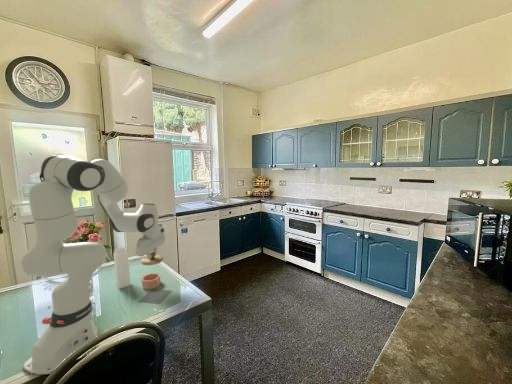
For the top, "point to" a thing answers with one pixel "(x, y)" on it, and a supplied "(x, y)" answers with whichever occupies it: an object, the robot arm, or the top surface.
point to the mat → (155, 296)
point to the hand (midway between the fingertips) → (152, 257)
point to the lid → (152, 259)
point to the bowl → (150, 281)
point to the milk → (121, 267)
